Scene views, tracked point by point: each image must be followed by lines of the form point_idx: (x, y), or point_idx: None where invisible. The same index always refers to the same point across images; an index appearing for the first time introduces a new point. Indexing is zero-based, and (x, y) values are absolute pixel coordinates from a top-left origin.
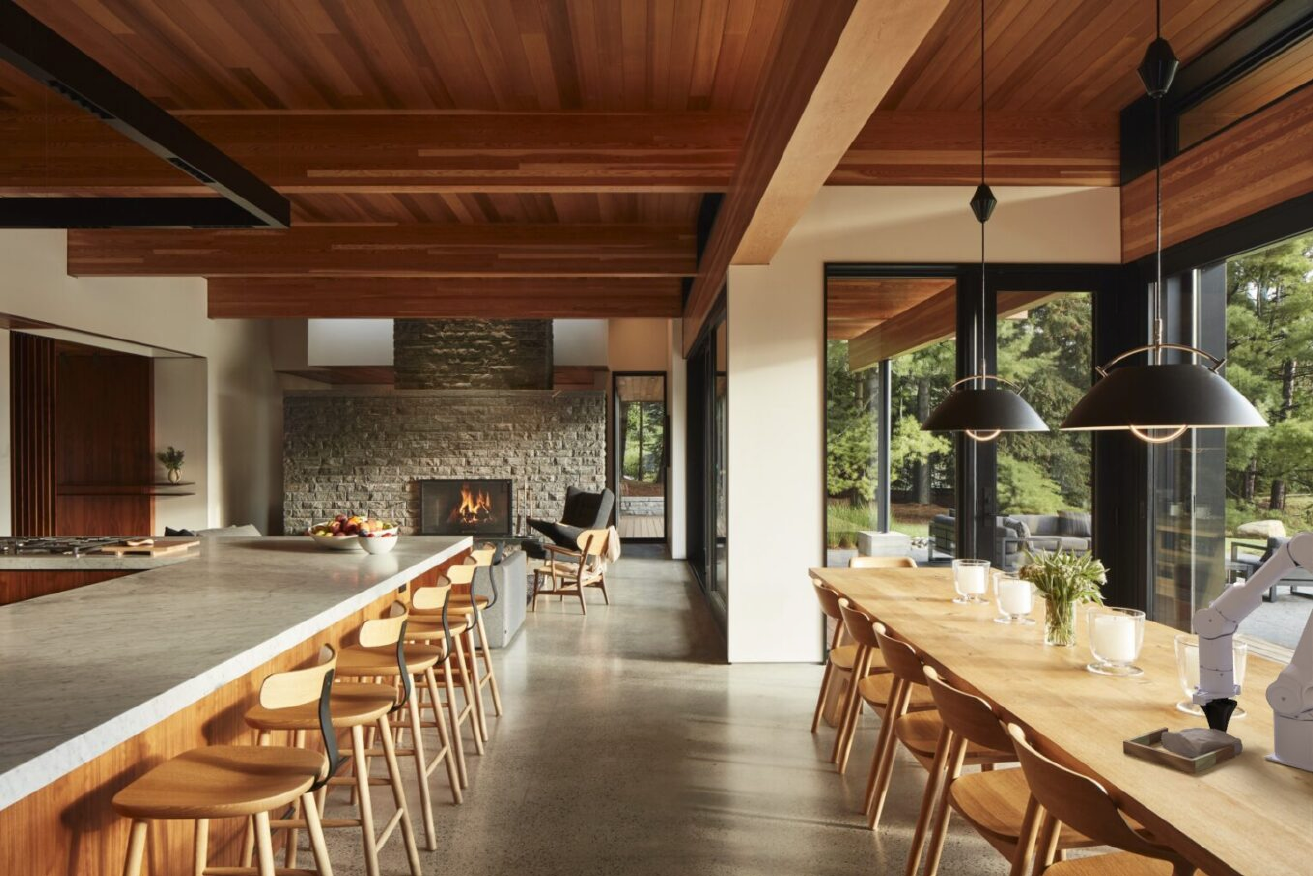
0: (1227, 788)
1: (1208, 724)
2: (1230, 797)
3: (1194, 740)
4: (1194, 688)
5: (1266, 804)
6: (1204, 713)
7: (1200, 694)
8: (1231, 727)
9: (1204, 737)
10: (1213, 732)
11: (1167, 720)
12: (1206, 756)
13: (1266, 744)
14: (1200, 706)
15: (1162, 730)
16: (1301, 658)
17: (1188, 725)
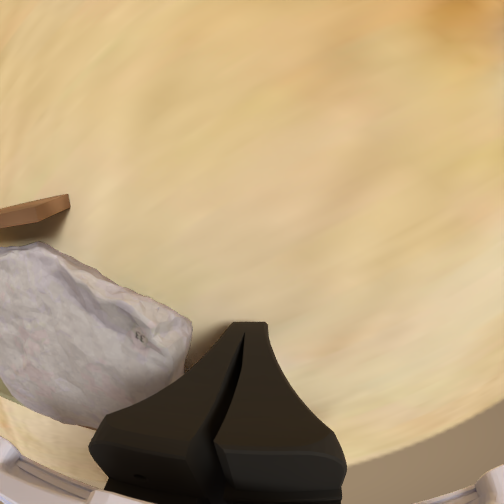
0: (17, 418)
1: (213, 346)
2: (8, 422)
3: (4, 383)
4: (91, 495)
5: (38, 452)
6: (170, 385)
7: (2, 500)
8: (490, 258)
9: (32, 402)
10: (117, 400)
11: (348, 10)
12: (13, 400)
13: (361, 414)
14: (127, 409)
15: (8, 226)
16: None
17: (369, 117)
